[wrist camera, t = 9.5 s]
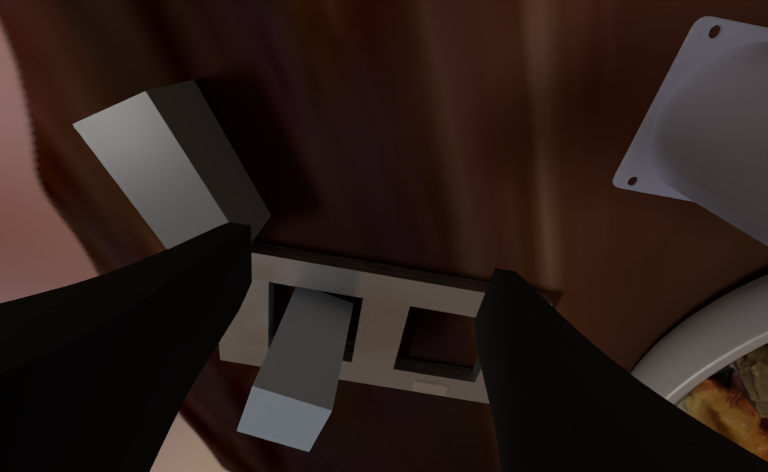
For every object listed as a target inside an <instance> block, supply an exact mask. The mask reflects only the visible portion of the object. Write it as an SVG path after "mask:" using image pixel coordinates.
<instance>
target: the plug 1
mask: <svg viewBox="0 0 768 472" xmlns="http://www.w3.org/2000/svg"><path fill="white" fill-rule="evenodd" d="M73 126H74V127H75V128H76V130H77V131H78V132H79V134H80V135H81V136H82V138H83V139H84V140H85V142H86V143H87V144H88V146H89V147H90V148H91V150H92V151H93V152H94V153H95V155H96V156H97V157H98V159H99V160H100V161H101V163H102V164H103V165H104V167H105V168H106V169H107V171H108V172H109V173H110V175H111V176H112V177H113V179H114V180H115V181H116V183H117V184H118V185H119V187H120V188H121V189H122V190H123V192H124V193H125V194H126V196H127V197H128V198H129V200H130V201H131V202H132V204H133V205H134V206H135V208H136V209H137V210H138V212H139V213H140V214H141V216H142V217H143V218H144V220H145V221H146V222H147V223H148V225H149V226H150V227H151V229H152V230H153V231H154V233H155V234H156V235H157V237H158V238H159V239H160V241H161V242H162V243H163V245H164V246H165V247H166V249H169V248H172V247H174V246H176V245H178V244H180V243H183V242H185V241H187V240H189V239H192V238H194V237H196V236H198V235H200V234H202V233H205V232H207V231H209V230H211V229H213V228H216V227H218V226H220V225H223V224H225V223H228V222H234V223H239V224H245V225H251V242H252V241H253V240H254V238H255V237H256V236H257V234H258V233H259V232H260V230H261V229H262V228H263V226H264V225H265V224H266V222H267V221H268V220H269V218H270V217H271V214H270V213H269V211H268V209H267V207H266V206H265V204H264V202H263V200H262V199H261V197H260V195H259V193H258V192H257V190H256V188H255V186H254V185H253V183H252V181H251V179H250V178H249V176H248V174H247V172H246V170H245V169H244V167H243V165H242V163H241V162H240V160H239V158H238V156H237V155H236V153H235V151H234V149H233V148H232V146H231V144H230V142H229V141H228V139H227V137H226V135H225V134H224V132H223V130H222V128H221V127H220V125H219V123H218V121H217V119H216V118H215V116H214V114H213V112H212V111H211V109H210V107H209V105H208V104H207V102H206V100H205V98H204V97H203V95H202V93H201V91H200V90H199V88H198V86H197V84H196V83H195V81H194V80H191V81H187V82H183V83H178V84H174V85H170V86H166V87H161V88H157V89H153V90H148V91H145V92H143V93H140V94H138V95H136V96H134V97H132V98H129V99H127V100H125V101H123V102H121V103H118V104H116V105H114V106H112V107H109V108H107V109H105V110H103V111H101V112H98V113H96V114H94V115H92V116H90V117H87V118H85V119H83V120H81V121H79V122H76V123H74V124H73Z"/></svg>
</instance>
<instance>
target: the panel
mask: <svg viewBox="0 0 768 472" xmlns="http://www.w3.org/2000/svg"><path fill="white" fill-rule="evenodd" d="M251 255H252V283H251V285H250V288H249V290H248V292H247V295H246V297H245V299H244V301H243V303H242V305H241V307H240V310H239V311H238V313H237V315H236V316H235V318H234V320H233V321H232V323H231V324H230V326H229V328H228V329H227V331H226V332H225V334H224V335H223V337H222V339H221V340H220V342H219V349H220V360H224V361H231V362H237V363H243V364H249V365H255V366H262V364H263V361H264V359H265V357H266V355H267V352H268V350H269V348H270V345H271V343H272V341H273V339H274V287H275V283H277V284H283V285H289V286H295V287H301V288H307V289H313V290H319V291H324V292H330V293H336V294H342V295H348V296H354V297H360V298H363V302H362V307H361V313H360V319H359V324H358V330H357V335H356V341H355V346H354V349H348V348H345V349H344V354H343V359H342V364H341V369H340V374H339V379H341V380H347V381H354V382H360V383H366V384H372V385H378V386H384V387H390V388H397V389H403V390H409V391H415V392H421V393H427V394H433V395H440V396H446V397H452V398H458V399H464V400H470V401H476V402H483V403H489V399H488V395H487V391H486V387H485V382H484V378H483V374H482V369H481V365H480V361H479V356H478V357H477V360H476V362H475V364H474V367H473V369H469V368H463V367H457V366H451V365H445V364H438V363H432V362H426V361H420V360H414V359H408V358H402V357H397V353H398V349H399V345H400V342H401V338H402V334H403V330H404V327H405V323H406V319H407V315H408V312H409V308H410V306H413V307H418V308H424V309H430V310H436V311H442V312H448V313H454V314H460V315H465V316H471V317H476V315H477V312H478V310H479V307H480V305H481V302H482V300H483V297H484V295H485V292H486V290H487V287H488V284H489V282H484V281H478V280H473V279H467V278H461V277H455V276H450V275H444V274H438V273H432V272H427V271H421V270H415V269H409V268H404V267H398V266H392V265H386V264H381V263H375V262H369V261H363V260H357V259H352V258H346V257H340V256H334V255H329V254H323V253H317V252H311V251H306V250H300V249H294V248H288V247H283V246H277V245H271V244H265V243H259V242H254V241H252V242H251ZM537 292H538V293H539V294H540V295H541V296H542V297H543V298H544V299H545V300H546V301H547V302H548V303H549V304H550V305H551V306H552V305H553V304H552V302H551V300H550V298H549V296H548V294H547V293H546V292H542V291H537Z"/></svg>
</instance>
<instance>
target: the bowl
mask: <svg viewBox="0 0 768 472" xmlns="http://www.w3.org/2000/svg"><path fill="white" fill-rule="evenodd" d="M630 374H631V375H633V376H634V377H635V378H637V379H638V380H639V381H641V382H642V383H643V384H645V385H646V386H648V387H649V388H650V389H652V390H653V391H655V392H656V393H658V394H659V395H661V396H662V397H664V398H665V399H666V400H668V401H669V402H671V403H672V404H674V405H675V406H677V407H678V408H680V409H681V410H683V411H684V412H686V413H687V414H689V415H690V416H692V417H694V418H695V419H697V420H698V421H700V422H702V423H703V424H705V425H706V426H708V427H710V428H711V429H713V430H714V431H716V432H718V433H720V434H721V435H723V436H725V437H726V438H728V439H730V440H731V441H733V442H735V443H736V444H738V445H740V446H741V447H743V448H745V449H746V450H748V451H750V452H752V453H753V454H755V455H757V456H759V457H760V458H762V459H764V460H766V461H768V274H767V275H765V276H762V277H760V278H758V279H756V280H754V281H752V282H749V283H747V284H745V285H743V286H741V287H739V288H737V289H735V290H733V291H732V292H730V293H728V294H726V295H724V296H722V297H721V298H719V299H717V300H715V301H714V302H712V303H710V304H709V305H707V306H706V307H704V308H702V309H701V310H699V311H698V312H696V313H695V314H693V315H692V316H690V317H689V318H687V319H686V320H685V321H683V322H682V323H681V324H679V325H678V326H677V327H675V328H674V329H673V330H672V331H670V332H669V333H668V334H667V335H666V336H664V337H663V338H662V339H661V340H660V341H659V342H658V343H657V344H656V345H655V346H654V347H653V348H652V349H651V350H650V351H649V352H648V353H647V354H646V355H645V356H644V357H643V358H642V359H641V361H640V362H639V363H638V364H637V365H636V366H635V368H634V369H633V370H632V372H631V373H630Z"/></svg>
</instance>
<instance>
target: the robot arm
mask: <svg viewBox="0 0 768 472" xmlns="http://www.w3.org/2000/svg"><path fill="white" fill-rule="evenodd" d="M715 25H718V26H720V32H719V34H718V35H717V36H716V37H714V38H712V39H711V38H710V37H709V31H710V29H711V28H712V27H713V26H715ZM632 177H637V182H636V183H635V184H633V185H628V180H629V179H630V178H632ZM613 184H614V185H615V186H616V187H618V188H622V189H627V190H633V191H638V192H643V193H649V194H654V195H660V196H665V197H671V198H676V199H681V200H687V201H692V202H695V203H697V204H699V205H700V206H702V207H704V208H705V209H707V210H709V211H710V212H712V213H714V214H715V215H717V216H719V217H720V218H722V219H724V220H725V221H727V222H728V223H730V224H732V225H733V226H735V227H737V228H738V229H740V230H742V231H743V232H745V233H747V234H748V235H750V236H752V237H753V238H755V239H757V240H758V241H760V242H762V243H763V244H765V245H767V246H768V28H766V27H762V26H757V25H752V24H747V23H742V22H737V21H732V20H727V19H722V18H717V17H712V16H705V17H702V18H700V19H699V20H697V21H696V22H695V23H694V24H693V26H692V27H691V29H690V31H689V33H688V35H687V37H686V39H685V41H684V43H683V45H682V46H681V48H680V50H679V52H678V54H677V56H676V58H675V60H674V62H673V64H672V66H671V68H670V70H669V72H668V73H667V75H666V77H665V79H664V81H663V83H662V85H661V87H660V89H659V91H658V93H657V95H656V97H655V99H654V100H653V102H652V104H651V106H650V108H649V110H648V112H647V114H646V116H645V118H644V120H643V122H642V124H641V126H640V127H639V129H638V131H637V133H636V135H635V137H634V139H633V141H632V143H631V145H630V147H629V149H628V151H627V153H626V154H625V156H624V158H623V160H622V162H621V164H620V166H619V168H618V170H617V172H616V174H615V176H614V178H613ZM251 283H252V255H251V225H245V224H239V223H234V222H228V223H225V224H223V225H220V226H218V227H216V228H213V229H211V230H209V231H207V232H205V233H202V234H200V235H198V236H196V237H194V238H192V239H189V240H187V241H185V242H183V243H180V244H178V245H176V246H174V247H172V248H169V249H167V250H165V251H162V252H160V253H158V254H155V255H153V256H150V257H148V258H145V259H143V260H140V261H138V262H136V263H133V264H131V265H128V266H126V267H123V268H120V269H117V270H115V271H112V272H109V273H106V274H103V275H100V276H97V277H94V278H91V279H88V280H85V281H82V282H79V283H75V284H72V285H69V286H65V287H62V288H58V289H54V290H50V291H47V292H43V293H39V294H35V295H31V296H28V297H24V298H20V299H16V300H12V301H8V302H4V303H0V472H150V469H151V467H152V465H153V463H154V461H155V459H156V457H157V455H158V452H159V450H160V448H161V446H162V444H163V442H164V440H165V438H166V436H167V434H168V431H169V429H170V427H171V425H172V423H173V421H174V419H175V417H176V415H177V413H178V412H179V410H180V408H181V406H182V404H183V402H184V400H185V398H186V396H187V394H188V392H189V390H190V388H191V386H192V385H193V383H194V381H195V380H196V378H197V376H198V375H199V373H200V371H201V370H202V368H203V367H204V365H205V364H206V362H207V360H208V359H209V357H210V356H211V354H212V353H213V351H214V350H215V348H216V346H217V345H218V343H219V342H220V340H221V339H222V337H223V335H224V334H225V332H226V331H227V329H228V328H229V326H230V324H231V323H232V321H233V320H234V318H235V316H236V315H237V313H238V311H239V310H240V307H241V305H242V303H243V301H244V299H245V297H246V295H247V292H248V290H249V288H250V285H251ZM475 332H476V343H477V351H478V356H479V361H480V365H481V369H482V374H483V378H484V382H485V387H486V391H487V395H488V399H489V404H490V408H491V412H492V416H493V421H494V425H495V431H496V436H497V441H498V449H499V457H500V464H501V472H768V461H766V460H764V459H762V458H760V457H759V456H757V455H755V454H753V453H752V452H750V451H748V450H746V449H745V448H743V447H741V446H740V445H738V444H736V443H735V442H733V441H731V440H730V439H728V438H726V437H725V436H723V435H721V434H720V433H718V432H716V431H714V430H713V429H711V428H710V427H708V426H706V425H705V424H703V423H702V422H700V421H698V420H697V419H695V418H694V417H692V416H690V415H689V414H687V413H686V412H684V411H683V410H681V409H680V408H678V407H677V406H675V405H674V404H672V403H671V402H669V401H668V400H666V399H665V398H664V397H662V396H661V395H659V394H658V393H656V392H655V391H653V390H652V389H650V388H649V387H648V386H646V385H645V384H643V383H642V382H641V381H639V380H638V379H637V378H635V377H634V376H633V375H631V374H630V373H629V372H627V371H626V370H625V369H623V368H622V367H621V366H620V365H618V364H617V363H616V362H614V361H613V360H612V359H611V358H609V357H608V356H607V355H606V354H604V353H603V352H602V351H601V350H600V349H598V348H597V347H596V346H595V345H594V344H593V343H591V342H590V341H589V340H588V339H587V338H586V337H585V336H583V335H582V334H581V333H580V332H579V331H578V330H577V329H576V328H574V327H573V326H572V325H571V324H570V323H569V322H568V321H567V320H566V319H565V318H564V317H563V316H562V315H560V314H559V313H558V312H557V311H556V310H555V309H554V308H553V307H552V306H551V305H550V304H549V303H548V302H547V301H546V300H545V299H544V298H543V297H542V296H541V295H540V294H539V293H538V292H537V291H536V290H535V289H534V288H533V287H532V286H531V285H530V284H529V283H527V282H526V281H525V280H524V279H523V278H522V277H521V276H520V275H519V274H517V273H516V272H514V271H508V270H502V269H497V268H495V269H494V272H493V274H492V277H491V279H490V282H489V284H488V287H487V290H486V292H485V295H484V297H483V300H482V302H481V305H480V307H479V310H478V312H477V315H476V317H475Z"/></svg>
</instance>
